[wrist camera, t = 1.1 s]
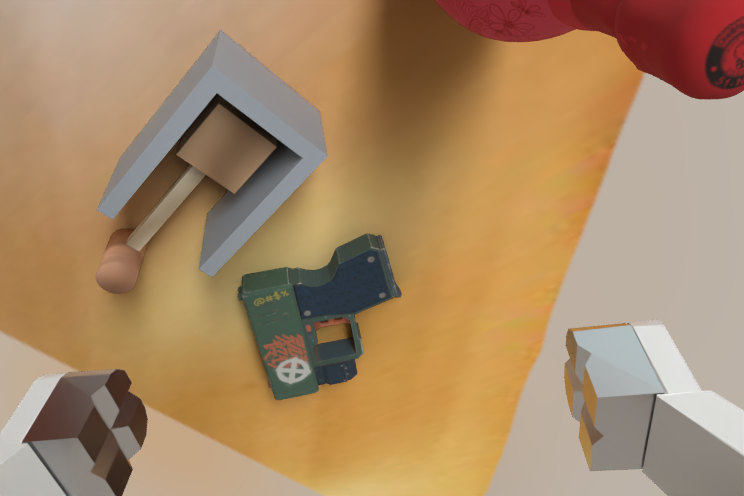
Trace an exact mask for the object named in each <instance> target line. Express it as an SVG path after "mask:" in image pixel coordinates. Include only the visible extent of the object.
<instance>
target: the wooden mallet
mask: <svg viewBox="0 0 744 496" xmlns="http://www.w3.org/2000/svg"><path fill="white" fill-rule="evenodd" d="M276 147H277V138H276V137H274V136H273V135H272V134H270V133H269V132H268V131H266V130H265V129H264V128H262V127H261V126H260V125H258V124H257V123H256V122H254V121H253V120H252V119H250V118H249V117H248V116H247V115H245V114H244V113H243V112H241V111H240V110H239V109H237V108H236V107H235V106H233V105H232V104H231V103H229V102H228V101H227V100H225V99H224V98H223V97H222V96H220V95H219V94H218V93H216V95H215V96H214V97H213V98H212V99H211V101H210V102H209V103H208V104H207V106H206V107H205V108H204V109H203V110H202V112H201V113H200V114H199V115H198V116H197V118H196V119H195V120H194V121H193V123H192V124H191V125H190V126H189V127H188V129H187V130H186V131H185V132H184V133H183V135H182V136H181V140H180V143H179V147H178V150H177V154H176V155H177V156H179V157H180V158H182V159H183V160H185V161H186V162H188V163H189V164H190V165H189V167H188V168H187V169H186V170H185V171H184V172H183V174H182V175H181V176H180V177H179V178H178V180H177V181H176V182H175V183H174V184H173V185H172V187H171V188H170V189H169V190H168V191H167V192H166V194H165V195H164V196H163V197H162V198H161V200H160V201H159V202H158V203H157V204H156V205H155V207H154V208H153V209H152V210H151V211H150V212H149V214H148V215H147V216H146V217H145V218H144V220H143V221H142V222H141V223H140V224H139V225H138V227H137V228H136V229H135V230H132V229H120V230H117V231H115V232H114V233H113V234H112V235H111V237H110V239H109V242H108V244H107V247H106V250H105V252H104V255H103V257H102V260H101V262H100V265H99V268H98V270H97V273H96V281H97V283H98V285H99V286H100V287H101V288H103V289H104V290H106V291H108V292H111V293H117V294H120V293H126V292H128V291H130V290H131V289H133V287H134V286H135V284H136V281H137V277H138V274H139V270H140V267H141V263H142V260H143V257H144V253H145V250H146V243H147V242H148V241H149V240H150V239H151V238H152V236H153V235H154V234H155V233H156V232H157V231H158V230H159V228H160V227H161V226H162V225H163V224H164V223H165V221H166V220H167V219H168V218H169V217H170V216H171V215H172V213H173V212H174V211H175V210H176V209H177V208H178V207H179V205H180V204H181V203H182V202H183V201H184V200H185V198H186V197H187V196H188V195H189V194H190V193H191V192H192V190H193V189H194V188H195V187H196V186H197V185H198V184H199V182H200V181H201V180H202V179H203V178H204V177H205V175H207V176H209V177H210V178H212V179H213V180H215V181H216V182H217V183H219V184H220V185H222V186H223V187H225V188H226V189H228V190H229V191H231V192H232V193H234V194H235V193H236V192H237V190H238V189H239V188H240V187H241V186H242V185H243V184H244V183H245V182H246V181H247V179H248V178H249V177H250V176H251V175H252V174H253V173H254V172H255V171H256V170H257V168H258V167H259V166H260V165H261V164H262V163H263V162H264V161H265V160H266V159H267V157H268V156H269V155H270V154H271V153H272V152H273V151H274V150H275V149H276Z"/></svg>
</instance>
